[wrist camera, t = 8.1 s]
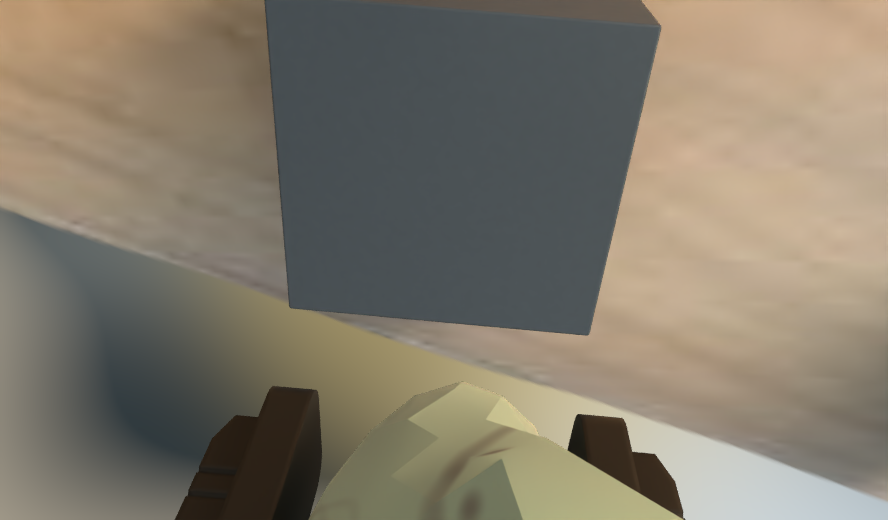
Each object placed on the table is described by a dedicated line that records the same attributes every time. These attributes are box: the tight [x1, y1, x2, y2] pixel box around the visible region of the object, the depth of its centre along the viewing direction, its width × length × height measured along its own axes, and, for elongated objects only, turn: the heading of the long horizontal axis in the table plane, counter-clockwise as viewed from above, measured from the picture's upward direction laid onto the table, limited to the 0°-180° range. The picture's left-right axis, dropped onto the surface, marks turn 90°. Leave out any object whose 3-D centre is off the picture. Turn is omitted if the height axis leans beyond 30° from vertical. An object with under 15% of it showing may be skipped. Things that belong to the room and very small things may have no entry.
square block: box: [265, 0, 661, 335], centre depth 22 cm, size 10×10×5 cm
